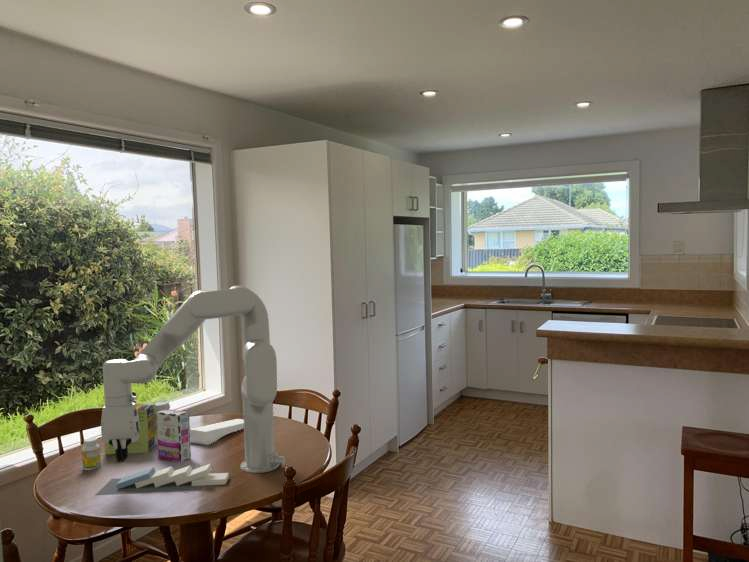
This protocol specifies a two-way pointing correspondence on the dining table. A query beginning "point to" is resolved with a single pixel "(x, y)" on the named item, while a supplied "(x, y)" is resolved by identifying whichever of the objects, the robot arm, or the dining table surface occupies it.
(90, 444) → the supplement bottle
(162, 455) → the candy bar box
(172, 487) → the mat
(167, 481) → the domino
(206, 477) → the domino
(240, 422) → the wall bracket
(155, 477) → the domino
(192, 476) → the domino
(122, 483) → the domino placed
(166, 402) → the coffee cup
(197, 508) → the dining table surface
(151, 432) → the protein box
